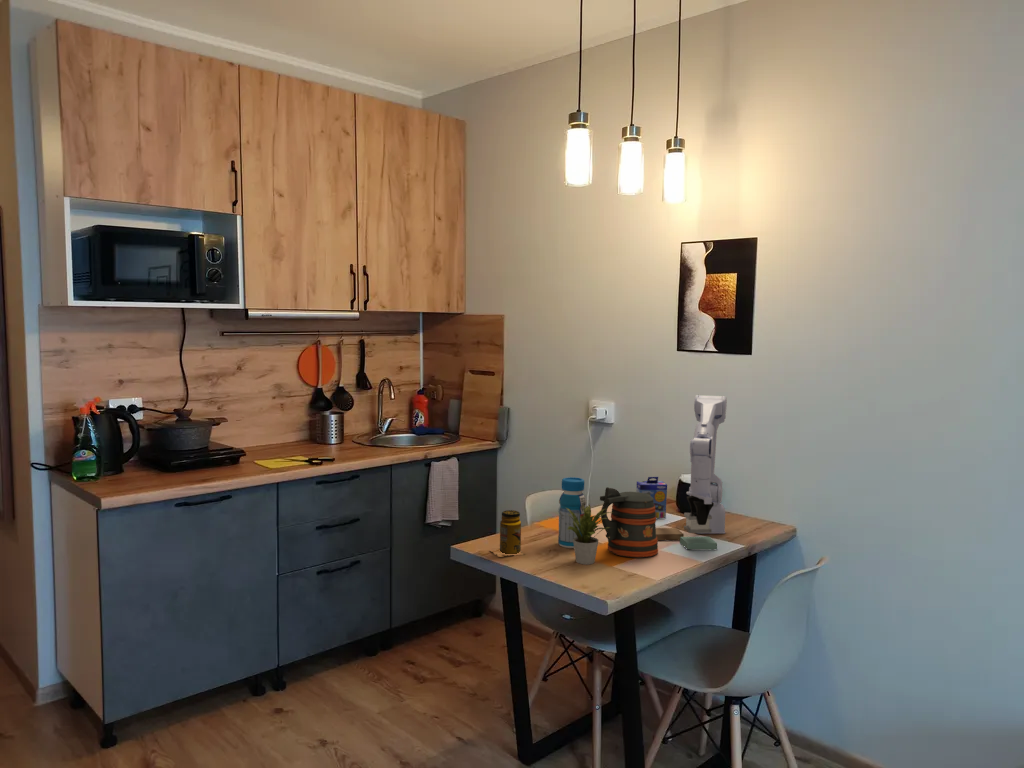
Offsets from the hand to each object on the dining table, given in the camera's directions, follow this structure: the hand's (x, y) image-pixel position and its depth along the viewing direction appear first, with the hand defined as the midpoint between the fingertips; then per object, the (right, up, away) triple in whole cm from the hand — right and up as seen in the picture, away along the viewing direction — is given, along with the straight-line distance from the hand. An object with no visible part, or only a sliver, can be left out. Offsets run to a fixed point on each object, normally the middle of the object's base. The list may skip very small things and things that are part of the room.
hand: (699, 522), depth 223 cm
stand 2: (0, -7, +1) cm, 7 cm away
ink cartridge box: (-8, -5, +35) cm, 36 cm away
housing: (0, -3, 0) cm, 3 cm away
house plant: (-35, -8, -16) cm, 39 cm away
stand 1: (-8, -7, +10) cm, 14 cm away
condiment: (-58, -8, -8) cm, 59 cm away
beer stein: (-23, -8, -6) cm, 25 cm away
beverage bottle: (-38, -7, 0) cm, 39 cm away
